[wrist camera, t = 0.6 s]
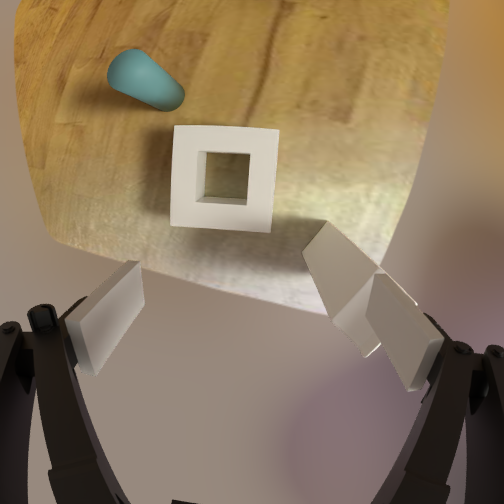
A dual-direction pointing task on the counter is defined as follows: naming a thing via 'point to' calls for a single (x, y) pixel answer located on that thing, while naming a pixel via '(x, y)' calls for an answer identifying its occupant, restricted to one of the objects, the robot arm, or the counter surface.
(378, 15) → the counter surface
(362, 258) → the milk
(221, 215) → the socket
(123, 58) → the peg
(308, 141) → the counter surface
